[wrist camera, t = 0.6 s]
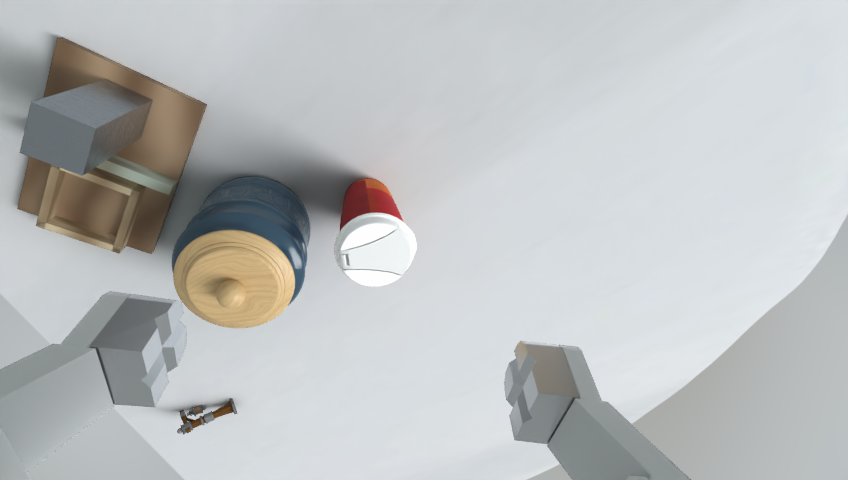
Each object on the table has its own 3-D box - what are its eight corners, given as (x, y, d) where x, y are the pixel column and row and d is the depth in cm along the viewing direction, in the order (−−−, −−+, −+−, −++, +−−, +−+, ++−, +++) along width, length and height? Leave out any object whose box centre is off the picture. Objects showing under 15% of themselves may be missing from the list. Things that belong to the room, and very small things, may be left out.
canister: (197, 257, 58) (146, 348, 43) (207, 162, 53) (153, 226, 38) (301, 274, 62) (288, 364, 46) (319, 186, 57) (312, 253, 41)
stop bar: (95, 118, 48) (19, 152, 37) (106, 78, 47) (31, 101, 35) (141, 137, 50) (82, 176, 38) (153, 99, 48) (95, 128, 37)
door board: (22, 205, 52) (5, 216, 49) (62, 37, 45) (45, 39, 43) (154, 250, 57) (145, 262, 54) (207, 104, 50) (199, 109, 48)
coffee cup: (340, 232, 60) (340, 296, 47) (330, 173, 56) (328, 224, 43) (403, 224, 61) (421, 284, 48) (397, 165, 57) (415, 213, 44)
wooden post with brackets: (172, 410, 67) (176, 431, 64) (228, 387, 71) (235, 406, 68) (175, 419, 68) (180, 440, 65) (230, 395, 72) (237, 414, 69)
